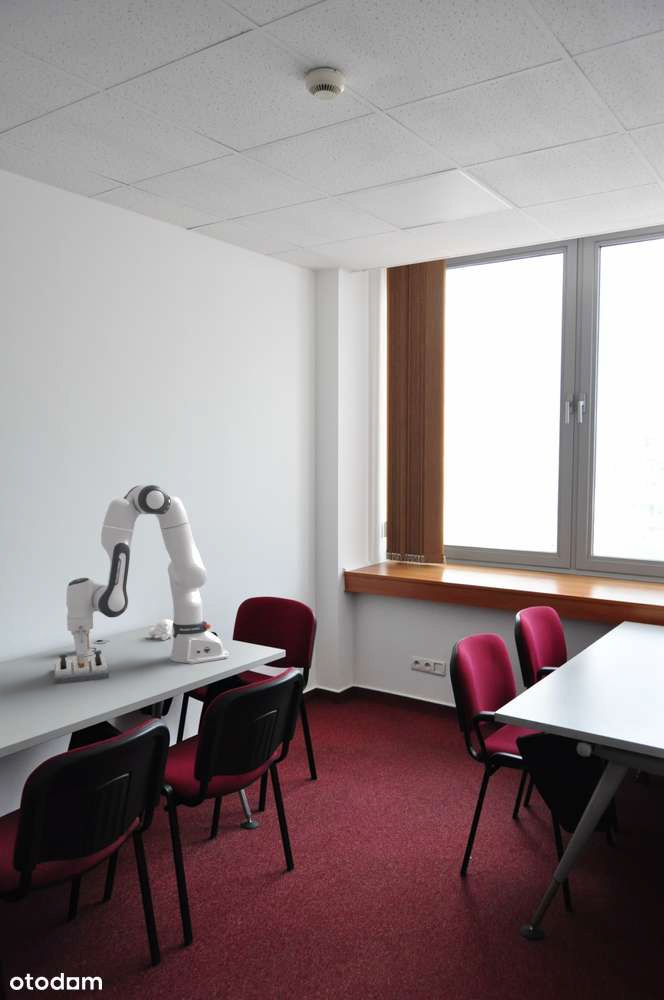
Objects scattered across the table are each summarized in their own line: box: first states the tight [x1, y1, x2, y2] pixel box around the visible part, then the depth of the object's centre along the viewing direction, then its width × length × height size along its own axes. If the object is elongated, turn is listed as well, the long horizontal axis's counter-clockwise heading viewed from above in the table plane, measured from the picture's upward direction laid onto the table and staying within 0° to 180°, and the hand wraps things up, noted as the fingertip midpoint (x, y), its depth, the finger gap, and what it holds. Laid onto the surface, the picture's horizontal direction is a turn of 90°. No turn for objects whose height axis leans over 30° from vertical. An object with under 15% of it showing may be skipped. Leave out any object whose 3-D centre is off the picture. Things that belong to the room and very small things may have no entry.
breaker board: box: [54, 655, 110, 685], centre depth 268 cm, size 19×18×4 cm
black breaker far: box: [59, 653, 67, 668], centre depth 269 cm, size 2×2×5 cm
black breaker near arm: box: [93, 649, 102, 664], centre depth 273 cm, size 2×2×5 cm
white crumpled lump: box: [148, 618, 174, 641], centre depth 320 cm, size 6×8×12 cm
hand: (81, 662), depth 265 cm, fingers closed
